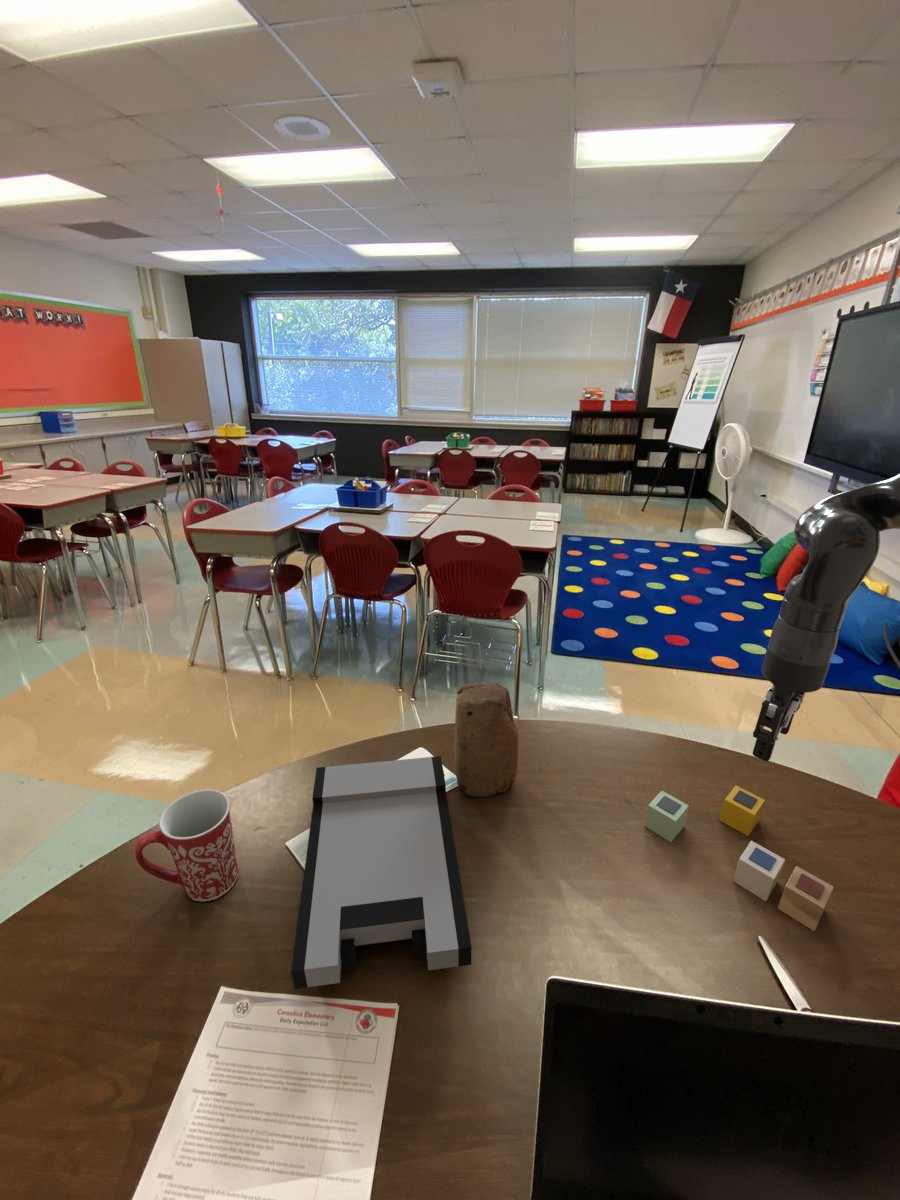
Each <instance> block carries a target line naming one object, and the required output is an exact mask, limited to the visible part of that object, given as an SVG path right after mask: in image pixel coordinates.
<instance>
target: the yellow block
mask: <svg viewBox="0 0 900 1200" xmlns="http://www.w3.org/2000/svg"><path fill="white" fill-rule="evenodd" d="M765 802H766V799H764V798H762V797H760V796H758V795H756V794H754V793H752V792H750V791H748V790H746V789H744V788H743V787H741V786H739V785H735V786H734V787H733V789H732V790H731V791H730V792H729V794H728V795H727V796H726V797H725V799H724V801H723V805H722V808H721V813H720V816H719V821H720V822H721V823H724V824H725V825H727V826H729V827H730V828H732V829H733V830H735V831H738V832H740V833H741V834H742V835H745V836H747V837H749V836H750V835H751V833H752V832H753V830H754V829H755V827H756V826H757V825H758V823H759V821H760V819H761V815H762V812H763V809H764V806H765Z"/></svg>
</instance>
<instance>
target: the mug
mask: <svg viewBox="0 0 900 1200" xmlns="http://www.w3.org/2000/svg"><path fill="white" fill-rule="evenodd" d="M158 827H159V830H155V831H150V832H148V833H146V834H143V835H142V836H141V837H140V838H139V839H138V840H137V842H136V844H135V848H134V853H135V854H134V855H135V859H136V862H137V864H138V865H139V866H140V868H141V869H142V870H143V871H145V872H146V873H148V874H149V875H151V876H153V877H155V878H158V879H160V880H163V881H166V882H169V883H173V884H176V885H180V886H182V887H183V889H184V892H185V891H186V892H185V894H186V893H187V894H188V895H189V896H191V897H193V898H196V899H209V898H212V897H215V896H218V895H219V894H221V893H222V892H224V891H225V890H227V889H228V888H229V887H230V886H231V885H232V883H233V882H234V881H235V879H236V877H237V874H238V875H239V866H238V859H237V851H236V844H235V839H234V838H235V837H234V832H233V824H232V817H231V802H230V799H229V797H228V796H227V794H225V793H224V792H222V791H220V790H217V789H212V788H211V789H210V788H209V789H198V790H195V791H191V792H188V793H186V794H184V795H182V796H180V797H178V798H176V799H175V800H174V801H172V802H170V803H169V804H168V805H167V807H166V808H165V809H164V810H163V812H162V814H161V815H160V818H159V822H158ZM154 843H157V844H161V845H163V846H164V847H165V849H167V850H168V851H170V854H171V856H172V859H173V862H174V864H175V867H176V870H171V869H168V868H166V867H163V866H160V865H158V864H156V863H153V862H152V861H150V860H149V859H147V858H146V857H145V855H144V854H143V850H144V848H145V847H146V846H148V845H150V844H154ZM187 894H186V895H187Z"/></svg>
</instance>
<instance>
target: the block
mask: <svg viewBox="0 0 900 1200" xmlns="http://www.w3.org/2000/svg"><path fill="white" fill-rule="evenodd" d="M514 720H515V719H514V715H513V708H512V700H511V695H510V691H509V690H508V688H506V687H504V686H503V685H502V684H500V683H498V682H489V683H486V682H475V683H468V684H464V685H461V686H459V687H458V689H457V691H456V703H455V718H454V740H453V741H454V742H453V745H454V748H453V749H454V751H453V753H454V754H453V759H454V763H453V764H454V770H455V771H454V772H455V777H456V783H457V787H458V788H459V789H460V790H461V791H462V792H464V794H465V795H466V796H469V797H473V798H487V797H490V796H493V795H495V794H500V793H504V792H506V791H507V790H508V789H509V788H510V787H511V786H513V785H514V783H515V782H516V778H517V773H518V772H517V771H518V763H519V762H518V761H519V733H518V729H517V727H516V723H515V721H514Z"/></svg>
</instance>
